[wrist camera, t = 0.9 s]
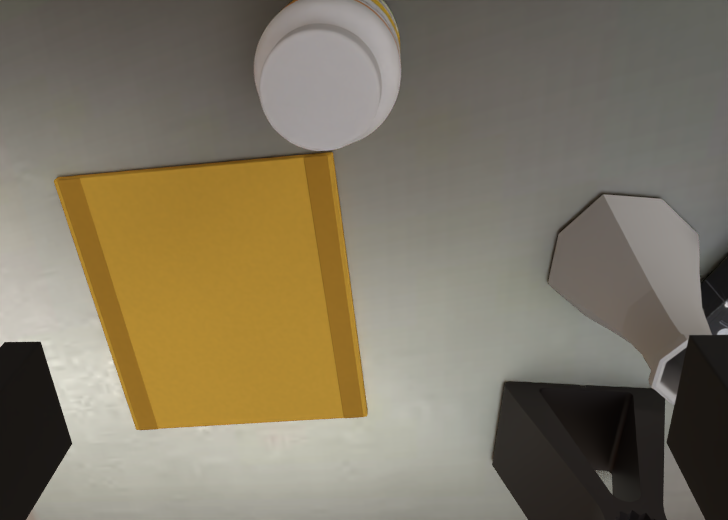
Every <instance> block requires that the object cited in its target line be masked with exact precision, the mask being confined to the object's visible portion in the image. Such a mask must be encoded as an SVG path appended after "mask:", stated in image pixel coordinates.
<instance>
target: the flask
mask: <svg viewBox="0 0 728 520" xmlns="http://www.w3.org/2000/svg"><path fill="white" fill-rule="evenodd" d="M548 284H549V285H550V286H551V287H552V288H554V289H555V290H556V291H557V292H558V293H559V294H561V295H562V296H563V297H564V298H565V299H566V300H568V301H569V302H570V303H571V304H572V305H573V306H575V307H576V308H577V309H578V310H579V311H580V312H582V313H583V314H584V315H585V316H587V317H588V318H590V319H591V320H593V321H595V322H597V323H598V324H600V325H602V326H604V327H606V328H607V329H609V330H611V331H613V332H614V333H616V334H617V335H619V336H620V337H622V338H624V339H625V340H627V341H628V342H630V343H631V344H632V345H633V346H634V347H635V348H636V349H637V350H638V351H639V352H640V353H641V354H642V355H643V357H644V359H645V361H646V362H647V364H648V366H649V367H650V369H651V373H650V376H649V384H650V386H651V387H652V388H653V389H654V390H656V391H657V392H658V393H659V394H660V395H661V396H663V397H664V398H665V399H666V400H667V401H669V402H670V403H671V404H673V405H675V400H676V396H677V391H678V386H679V381H680V377H681V372H682V367H683V363H684V358H685V353H686V348H687V344H688V339H689V335H712V333H711V331H710V328H709V325H708V323H707V320H706V317H705V314H704V312H703V309H702V299H701V286H700V274H699V234H698V233H697V232H696V231H695V230H693V229H692V228H691V227H690V226H689V225H688V224H687V223H686V222H685V221H684V220H683V219H682V218H681V217H680V216H679V215H678V214H677V213H676V212H675V211H674V210H673V209H672V208H671V207H670V206H669V205H668V204H667V203H666V202H665V201H664V200H662V199H657V198H644V197H631V196H618V195H605V194H603V195H602V196H601V197H600V198H598V199H597V200H596V201H595V202H594V203H593V204H592V205H591V206H589V207H588V208H587V209H586V210H585V211H584V212H583V213H582V214H581V215H579V216H578V217H577V218H576V219H575V220H574V221H573V222H572V223H570V224H569V225H568V226H567V227H566V228H565V229H564V230H563V231H562V232H560V233H559V235H558V239H557V244H556V249H555V253H554V258H553V262H552V267H551V272H550V276H549V281H548Z"/></svg>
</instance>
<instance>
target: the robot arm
mask: <svg viewBox="0 0 728 520" xmlns="http://www.w3.org/2000/svg"><path fill="white" fill-rule="evenodd" d="M667 444H668V446H669V448H670V450H671V452H672V454H673V456H674V458H675V460H676V462H677V464H678V466H679V468H680V470H681V472H682V474H683V476H684V478H685V480H686V482H687V484H688V486H689V488H690V490H691V492H692V494H693V496H694V498H695V500H696V502H697V504H698V506H699V508H700V510H701V512H702V514H703V516H704V518H705V520H728V335H689V339H688V344H687V348H686V353H685V358H684V363H683V367H682V372H681V377H680V381H679V386H678V391H677V396H676V400H675V405H674V410H673V415H672V419H671V424H670V429H669V434H668V438H667ZM71 445H72V442H71V438H70V435H69V432H68V429H67V425H66V422H65V419H64V416H63V413H62V409H61V406H60V403H59V400H58V396H57V393H56V390H55V387H54V383H53V380H52V377H51V374H50V371H49V367H48V364H47V361H46V358H45V354H44V351H43V348H42V345H41V342H5V343H4V344H3V345H2V346H1V347H0V520H26V519H27V517H28V515H29V514H30V512H31V510H32V509H33V507H34V505H35V504H36V502H37V501H38V499H39V497H40V496H41V494H42V492H43V491H44V489H45V487H46V486H47V484H48V482H49V481H50V479H51V478H52V476H53V474H54V473H55V471H56V469H57V468H58V466H59V464H60V463H61V461H62V459H63V458H64V456H65V455H66V453H67V451H68V450H69V448H70V446H71Z"/></svg>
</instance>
